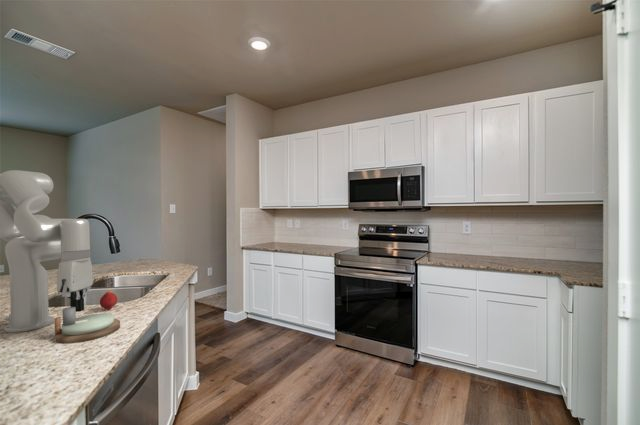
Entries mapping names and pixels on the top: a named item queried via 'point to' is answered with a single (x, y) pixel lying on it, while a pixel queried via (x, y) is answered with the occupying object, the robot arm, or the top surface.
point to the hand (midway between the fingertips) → (77, 310)
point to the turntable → (84, 322)
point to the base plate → (83, 337)
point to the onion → (108, 300)
